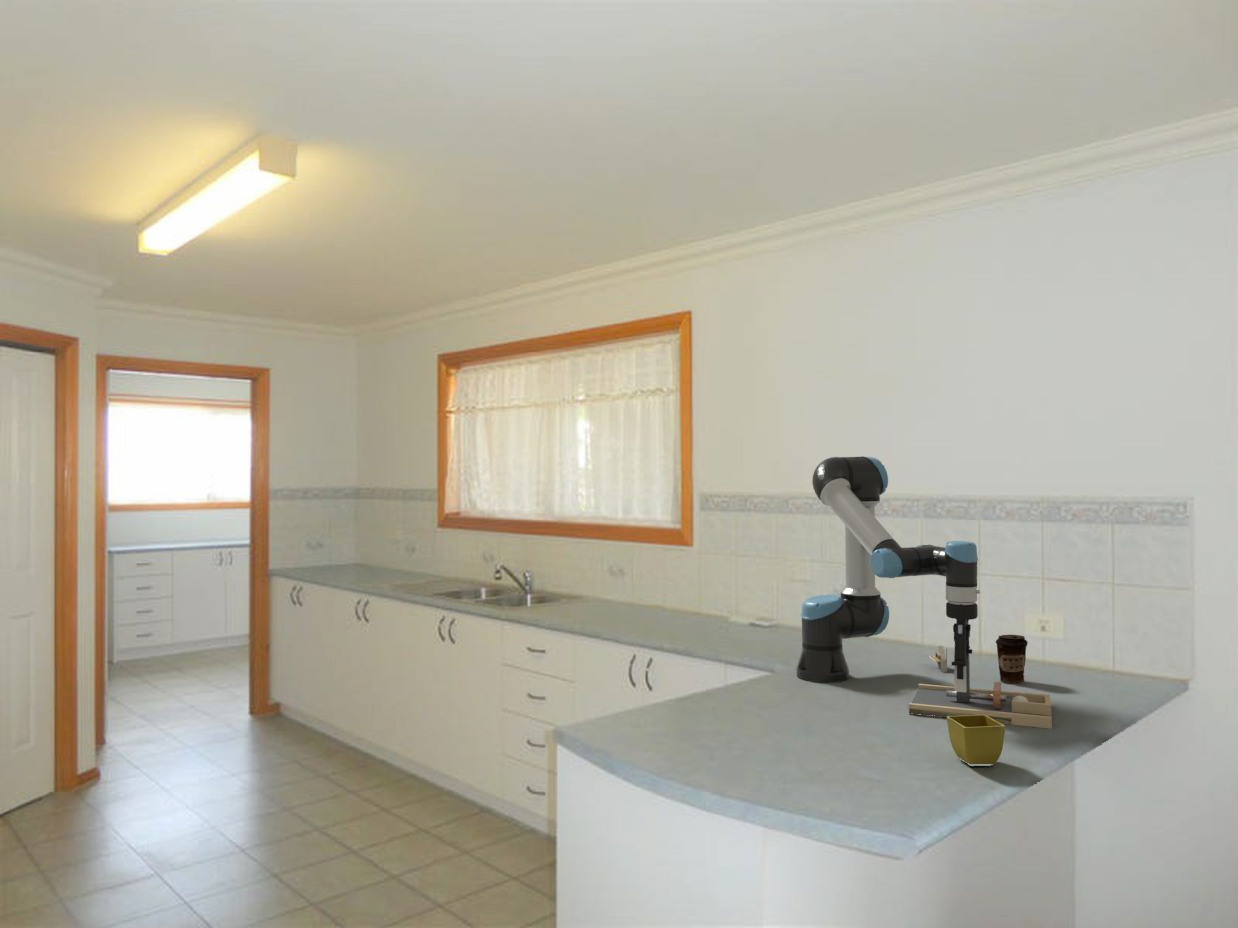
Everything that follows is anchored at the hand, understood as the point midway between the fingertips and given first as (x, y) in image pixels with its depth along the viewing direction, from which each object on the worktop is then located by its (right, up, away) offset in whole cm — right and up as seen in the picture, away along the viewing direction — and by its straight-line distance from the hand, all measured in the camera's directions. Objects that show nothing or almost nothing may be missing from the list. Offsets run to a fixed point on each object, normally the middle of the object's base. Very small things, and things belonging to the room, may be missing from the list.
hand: (962, 685), depth 225 cm
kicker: (+3, -4, -1) cm, 5 cm away
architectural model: (+10, -6, +41) cm, 43 cm away
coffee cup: (+24, -6, +25) cm, 35 cm away
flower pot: (-13, -6, -41) cm, 44 cm away
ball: (+12, -3, -6) cm, 14 cm away
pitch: (+4, -6, -2) cm, 7 cm away
